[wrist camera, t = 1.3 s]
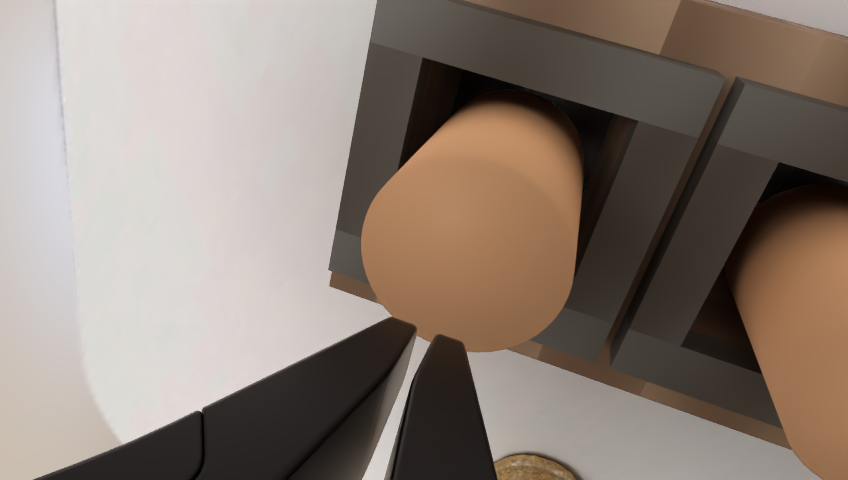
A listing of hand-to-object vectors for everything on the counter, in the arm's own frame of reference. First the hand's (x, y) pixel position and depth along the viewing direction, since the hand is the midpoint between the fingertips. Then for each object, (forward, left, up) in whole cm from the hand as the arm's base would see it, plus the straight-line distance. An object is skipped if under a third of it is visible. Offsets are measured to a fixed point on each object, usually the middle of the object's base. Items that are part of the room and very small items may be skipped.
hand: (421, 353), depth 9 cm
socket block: (-4, 0, -13) cm, 14 cm away
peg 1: (0, 0, -9) cm, 9 cm away
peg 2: (-8, 0, -9) cm, 12 cm away
